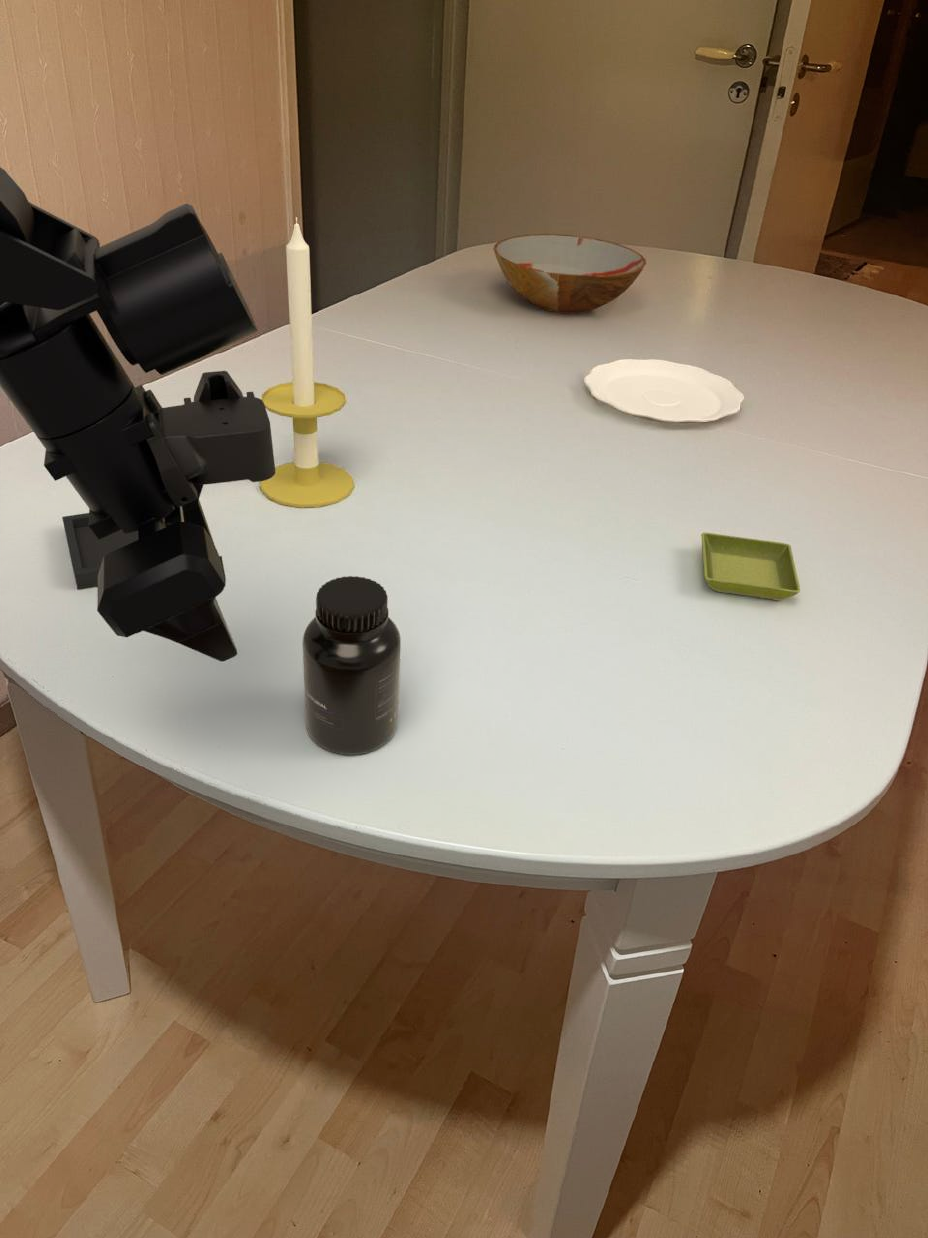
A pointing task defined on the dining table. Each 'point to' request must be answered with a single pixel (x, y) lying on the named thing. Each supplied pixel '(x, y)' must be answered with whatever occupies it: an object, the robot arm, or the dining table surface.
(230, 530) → the dining table surface
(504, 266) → the bowl
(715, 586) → the olive green square dish
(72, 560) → the dock pad
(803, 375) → the dining table surface
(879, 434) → the dining table surface
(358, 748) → the supplement bottle
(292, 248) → the candle
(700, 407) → the plate
